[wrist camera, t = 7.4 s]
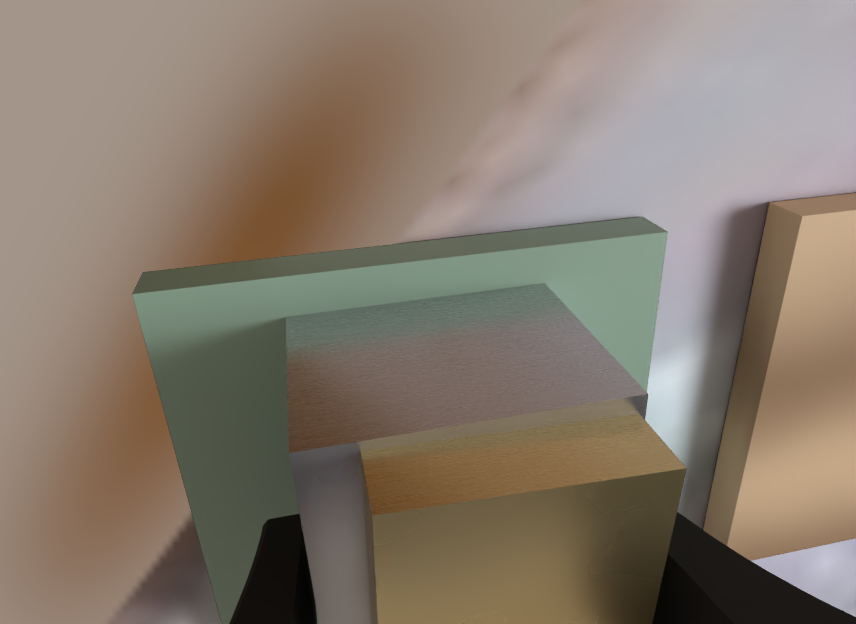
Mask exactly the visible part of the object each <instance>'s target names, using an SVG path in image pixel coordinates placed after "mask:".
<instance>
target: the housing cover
mask: <svg viewBox="0 0 856 624" xmlns="http://www.w3.org/2000/svg"><path fill="white" fill-rule="evenodd" d="M361 465H362V482H363V498H364V515H365V532H366V548H367V565H368V582H369V598H370V615H371V624H652V622H653V618H654V613H655V609H656V604H657V600H658V595H659V591H660V586H661V582H662V577H663V572H664V568H665V563H666V559H667V554H668V550H669V545H670V541H671V536H672V532H673V527H674V523H675V518H676V514H677V509H678V505H679V500H680V496H681V491H682V487H683V482H684V478H685V473H686V469H687V468H686V467H685V466H684V465H683V464H682V462H681V461H680V460H679V459H678V458H677V457H676V456H675V454H674V453H673V452H672V451H671V450H670V449H669V447H668V446H667V445H666V444H665V443H664V442H663V441H662V439H661V438H660V437H659V436H658V435H657V434H656V432H655V431H654V430H653V429H652V428H651V427H650V426H649V424H648V423H647V422H646V421H645V420H644V419H643V417H642V416H641V415H640V414H638V415H631V416H623V417H615V418H608V419H600V420H593V421H585V422H577V423H570V424H562V425H555V426H547V427H539V428H532V429H524V430H517V431H509V432H501V433H494V434H486V435H478V436H471V437H463V438H456V439H448V440H440V441H433V442H425V443H418V444H410V445H402V446H395V447H387V448H380V449H372V450H364V451H361Z"/></svg>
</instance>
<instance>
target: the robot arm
mask: <svg viewBox="0 0 856 624" xmlns="http://www.w3.org/2000/svg"><path fill="white" fill-rule="evenodd" d="M229 624H317V615H316V603H315V597H314V591H313V586H312V580H311V575H310V569H309V563H308V558H307V552H306V546H305V541H304V535H303V530H302V524H301V518H300V514H295V515H289V516H283V517H278V518H272V519H268V520H267V521H266V522H265V523H264V525H263V528H262V532H261V537H260V540H259V544H258V548H257V551H256V554H255V557H254V560H253V564H252V566H251V569H250V572H249V575H248V578H247V581H246V583H245V586H244V588H243V591H242V593H241V596H240V598H239V601H238V603H237V606H236V608H235V611H234V613H233V616H232V618H231V621H230V623H229ZM652 624H856V617H854V616H852V615H850V614H848V613H846V612H844V611H842V610H840V609H838V608H836V607H833V606H831V605H829V604H827V603H825V602H823V601H821V600H819V599H817V598H816V597H814V596H812V595H810V594H808V593H806V592H804V591H802V590H800V589H799V588H797V587H795V586H793V585H791V584H790V583H788V582H786V581H784V580H782V579H781V578H779V577H777V576H775V575H773V574H772V573H770V572H768V571H766V570H765V569H763V568H761V567H760V566H758V565H756V564H755V563H753V562H751V561H750V560H748V559H747V558H745V557H743V556H742V555H740V554H739V553H737V552H736V551H734V550H732V549H731V548H729V547H728V546H726V545H725V544H723V543H722V542H720V541H718V540H717V539H715V538H714V537H713V536H711V535H710V534H708V533H707V532H705V531H704V530H702V529H701V528H699V527H698V526H696V525H695V524H694V523H692V522H691V521H689V520H688V519H687V518H685V517H684V516H682V515H681V514H680V513H678V512H677V514H676V518H675V523H674V527H673V532H672V536H671V541H670V545H669V550H668V554H667V559H666V563H665V568H664V572H663V577H662V582H661V586H660V591H659V595H658V600H657V604H656V609H655V613H654V618H653V622H652Z"/></svg>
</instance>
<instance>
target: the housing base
mask: <svg viewBox="0 0 856 624" xmlns="http://www.w3.org/2000/svg"><path fill="white" fill-rule="evenodd" d="M286 348H287V393H288V437H289V457H290V462H291V468H292V474H293V479H294V485H295V490H296V496H297V502H298V507H299V513H300V518H301V524H302V530H303V535H304V541H305V546H306V552H307V558H308V563H309V569H310V575H311V580H312V586H313V591H314V597H315V603H316V608H317V614H318V619H319V624H371V615H370V598H369V582H368V565H367V548H366V532H365V515H364V498H363V482H362V465H361V451H364V450H372V449H380V448H387V447H395V446H402V445H410V444H418V443H425V442H433V441H440V440H448V439H456V438H463V437H471V436H478V435H486V434H494V433H501V432H509V431H517V430H524V429H532V428H539V427H547V426H555V425H562V424H570V423H577V422H585V421H593V420H600V419H608V418H615V417H623V416H631V415H638V414H640V415H641V416H642V417H643V419H644V420H645V415H646V407H647V400H648V393H647V392H646V391H645V390H644V389H643V388H642V387H641V386H640V385H639V384H638V383H637V381H636V380H635V379H634V378H633V377H632V376H631V375H630V374H629V373H628V372H627V371H626V370H625V369H624V367H623V366H622V365H621V364H620V363H619V362H618V361H617V360H616V359H615V358H614V357H613V356H612V355H611V354H610V352H609V351H608V350H607V349H606V348H605V347H604V346H603V345H602V344H601V343H600V342H599V341H598V340H597V338H596V337H595V336H594V335H593V334H592V333H591V332H590V331H589V330H588V329H587V328H586V327H585V326H584V325H583V323H582V322H581V321H580V320H579V319H578V318H577V317H576V316H575V315H574V314H573V313H572V312H571V311H570V309H569V308H568V307H567V306H566V305H565V304H564V303H563V302H562V301H561V300H560V299H559V298H558V297H557V296H556V294H555V293H554V292H553V291H552V290H551V289H550V288H549V287H548V286H547V285H546V284H545V283H542V284H534V285H527V286H519V287H511V288H504V289H496V290H488V291H481V292H473V293H465V294H458V295H450V296H442V297H435V298H427V299H419V300H411V301H404V302H396V303H388V304H381V305H373V306H365V307H358V308H350V309H342V310H335V311H327V312H319V313H312V314H304V315H296V316H289V317H286Z"/></svg>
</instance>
